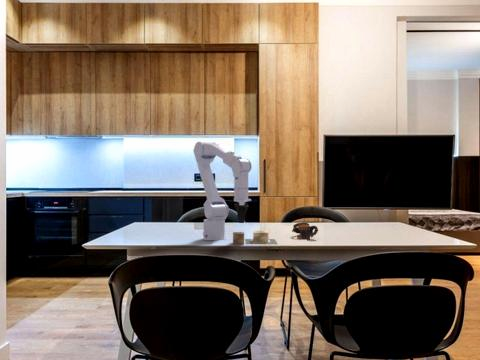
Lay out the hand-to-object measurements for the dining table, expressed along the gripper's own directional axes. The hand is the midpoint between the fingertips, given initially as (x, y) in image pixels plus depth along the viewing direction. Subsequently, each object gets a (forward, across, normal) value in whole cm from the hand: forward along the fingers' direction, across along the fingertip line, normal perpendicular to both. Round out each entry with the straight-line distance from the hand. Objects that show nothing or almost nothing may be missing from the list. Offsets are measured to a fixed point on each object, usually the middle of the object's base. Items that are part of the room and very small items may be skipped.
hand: (241, 221), depth 171 cm
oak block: (+9, +5, -9) cm, 13 cm away
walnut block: (+10, -1, +1) cm, 10 cm away
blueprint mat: (+9, +4, -8) cm, 13 cm away
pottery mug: (+10, +16, -29) cm, 35 cm away
